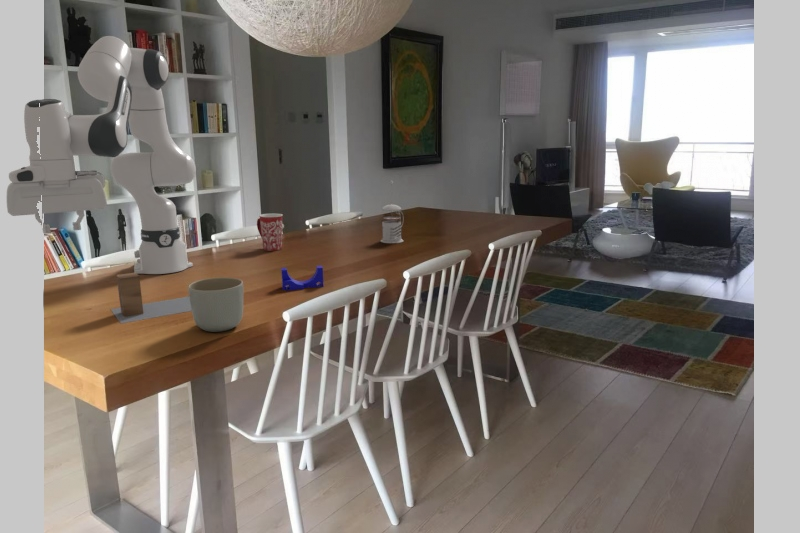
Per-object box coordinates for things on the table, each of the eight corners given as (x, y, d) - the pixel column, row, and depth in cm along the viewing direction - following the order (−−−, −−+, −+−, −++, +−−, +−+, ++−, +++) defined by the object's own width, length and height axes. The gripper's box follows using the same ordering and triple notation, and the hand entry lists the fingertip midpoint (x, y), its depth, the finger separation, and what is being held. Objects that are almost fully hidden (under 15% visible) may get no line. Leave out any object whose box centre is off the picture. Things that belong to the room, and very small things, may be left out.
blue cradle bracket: (283, 291, 172) (281, 271, 171) (282, 287, 176) (281, 268, 175) (324, 288, 175) (323, 268, 173) (322, 284, 179) (321, 265, 178)
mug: (289, 248, 231) (287, 214, 228) (270, 252, 224) (268, 217, 221) (269, 244, 239) (267, 211, 236) (251, 248, 232) (248, 214, 229)
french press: (375, 241, 244) (374, 180, 238) (393, 237, 253) (392, 178, 247) (393, 244, 238) (392, 182, 232) (411, 239, 247) (411, 180, 241)
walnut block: (121, 312, 151) (116, 275, 149) (139, 309, 154) (135, 272, 152) (124, 317, 148) (119, 278, 145) (143, 313, 150) (139, 275, 148)
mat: (110, 310, 154) (110, 309, 154) (195, 296, 167) (195, 295, 166) (120, 324, 143) (120, 323, 143) (210, 308, 155) (210, 307, 155)
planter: (248, 332, 137) (245, 287, 135) (192, 339, 133) (188, 293, 131) (243, 316, 149) (240, 275, 146) (191, 322, 145) (187, 279, 142)
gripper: (101, 169, 143) (108, 225, 147) (1, 173, 132) (11, 234, 135) (105, 170, 138) (112, 228, 142) (2, 175, 127) (12, 238, 130)
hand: (62, 231), depth 138 cm, fingers open, 5 cm apart
